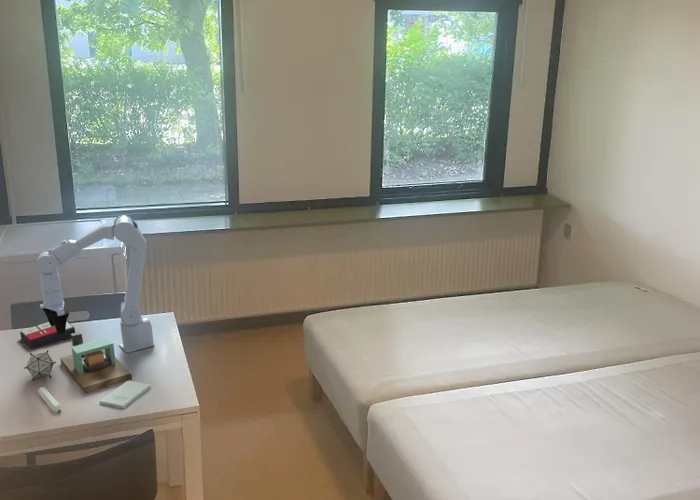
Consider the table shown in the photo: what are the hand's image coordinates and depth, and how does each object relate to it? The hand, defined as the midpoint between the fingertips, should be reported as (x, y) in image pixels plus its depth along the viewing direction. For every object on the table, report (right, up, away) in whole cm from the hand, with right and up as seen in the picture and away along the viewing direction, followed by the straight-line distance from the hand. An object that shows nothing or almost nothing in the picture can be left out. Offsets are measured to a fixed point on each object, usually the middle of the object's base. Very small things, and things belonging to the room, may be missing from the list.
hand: (57, 329), depth 216 cm
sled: (+10, -8, -2) cm, 13 cm away
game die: (-1, -14, -10) cm, 17 cm away
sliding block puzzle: (-10, -5, +17) cm, 21 cm away
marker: (+9, -19, -25) cm, 32 cm away
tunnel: (+15, -10, -8) cm, 20 cm away
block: (+15, -10, -8) cm, 20 cm away
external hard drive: (+29, -17, -21) cm, 40 cm away
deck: (+15, -12, -7) cm, 21 cm away
